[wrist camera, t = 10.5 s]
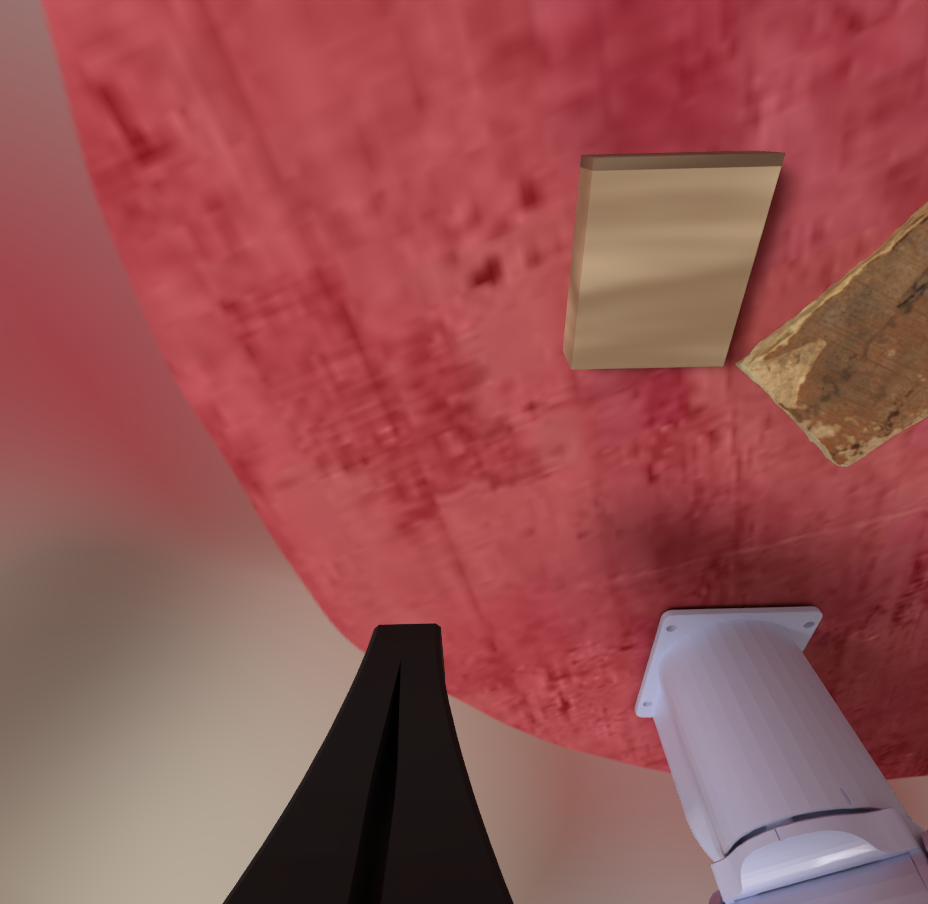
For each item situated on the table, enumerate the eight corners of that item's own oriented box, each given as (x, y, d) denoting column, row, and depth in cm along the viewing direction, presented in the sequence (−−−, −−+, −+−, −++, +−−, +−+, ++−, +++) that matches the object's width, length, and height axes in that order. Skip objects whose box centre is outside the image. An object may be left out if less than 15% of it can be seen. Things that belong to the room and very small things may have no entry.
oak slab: (723, 366, 16) (785, 152, 13) (571, 369, 16) (593, 157, 13) (701, 346, 18) (751, 150, 14) (561, 349, 18) (580, 154, 14)
